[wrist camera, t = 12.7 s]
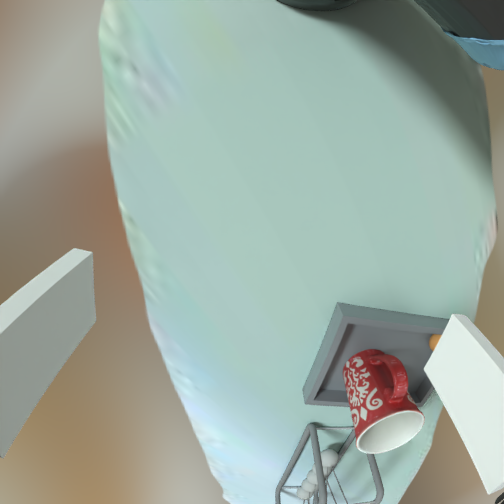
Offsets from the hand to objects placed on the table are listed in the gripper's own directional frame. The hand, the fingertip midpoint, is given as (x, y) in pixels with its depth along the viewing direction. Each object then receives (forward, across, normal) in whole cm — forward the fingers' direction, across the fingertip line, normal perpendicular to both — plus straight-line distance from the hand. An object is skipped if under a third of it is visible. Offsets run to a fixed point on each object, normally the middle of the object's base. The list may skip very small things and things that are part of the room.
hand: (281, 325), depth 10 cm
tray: (+26, +23, -20) cm, 41 cm away
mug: (+26, +20, -20) cm, 38 cm away
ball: (+26, +30, -16) cm, 43 cm away
